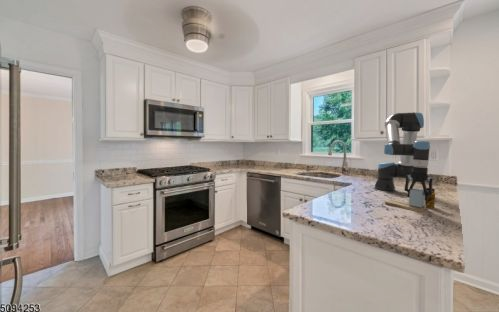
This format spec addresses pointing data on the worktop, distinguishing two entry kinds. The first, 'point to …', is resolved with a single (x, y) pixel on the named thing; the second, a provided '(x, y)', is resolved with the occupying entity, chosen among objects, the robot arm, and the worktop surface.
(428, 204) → the condiment
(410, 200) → the block
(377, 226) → the worktop surface
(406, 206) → the board
